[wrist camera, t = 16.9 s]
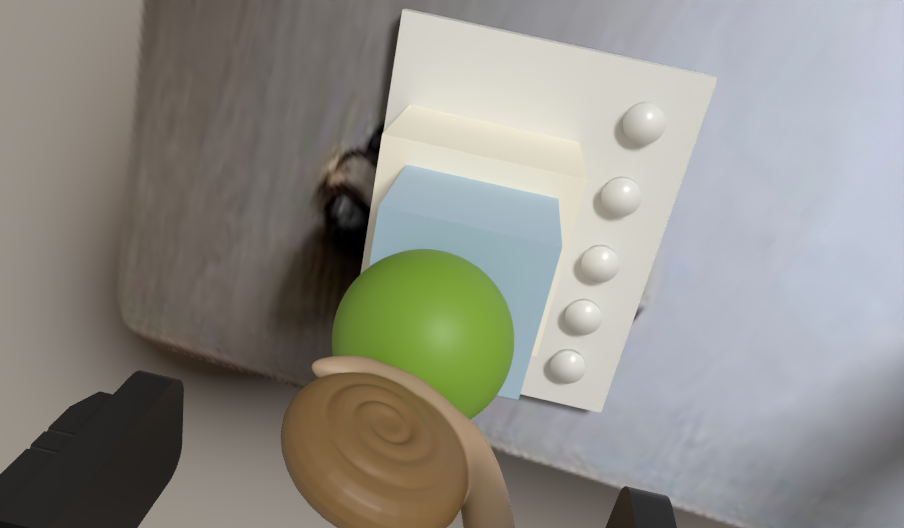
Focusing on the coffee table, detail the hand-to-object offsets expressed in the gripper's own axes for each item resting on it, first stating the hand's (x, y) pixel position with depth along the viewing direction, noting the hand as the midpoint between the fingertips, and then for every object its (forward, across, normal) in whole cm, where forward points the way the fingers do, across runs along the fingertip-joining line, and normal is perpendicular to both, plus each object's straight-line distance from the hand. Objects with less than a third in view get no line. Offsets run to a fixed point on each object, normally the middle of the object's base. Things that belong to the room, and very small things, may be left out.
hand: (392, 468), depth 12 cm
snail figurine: (+11, 0, +2) cm, 11 cm away
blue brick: (+16, 0, +3) cm, 16 cm away
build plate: (+23, -2, +4) cm, 23 cm away
